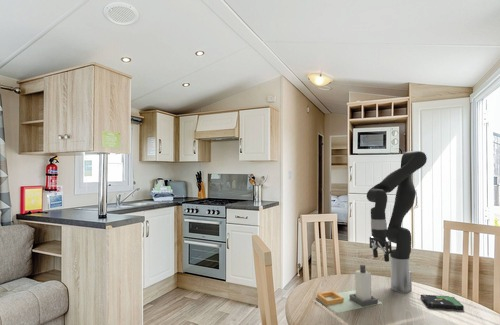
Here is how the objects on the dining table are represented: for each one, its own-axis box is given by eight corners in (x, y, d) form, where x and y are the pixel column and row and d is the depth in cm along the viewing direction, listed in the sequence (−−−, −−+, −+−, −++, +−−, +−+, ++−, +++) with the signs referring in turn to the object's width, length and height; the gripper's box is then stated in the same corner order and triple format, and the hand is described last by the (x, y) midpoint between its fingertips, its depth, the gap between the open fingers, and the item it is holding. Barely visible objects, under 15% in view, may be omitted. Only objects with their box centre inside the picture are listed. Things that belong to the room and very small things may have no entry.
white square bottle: (364, 298, 146) (363, 263, 147) (371, 302, 142) (370, 266, 142) (355, 299, 145) (355, 264, 145) (362, 304, 140) (362, 268, 140)
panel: (358, 291, 157) (358, 285, 157) (382, 305, 141) (382, 298, 141) (315, 299, 148) (315, 293, 148) (336, 315, 132) (336, 308, 132)
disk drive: (428, 309, 137) (464, 311, 134) (428, 303, 137) (464, 305, 134) (420, 299, 147) (453, 301, 144) (420, 294, 147) (453, 295, 144)
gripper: (394, 229, 148) (397, 262, 147) (376, 225, 162) (378, 255, 161) (381, 230, 146) (384, 263, 145) (364, 226, 160) (366, 256, 159)
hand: (381, 259), depth 153 cm, fingers open, 8 cm apart
